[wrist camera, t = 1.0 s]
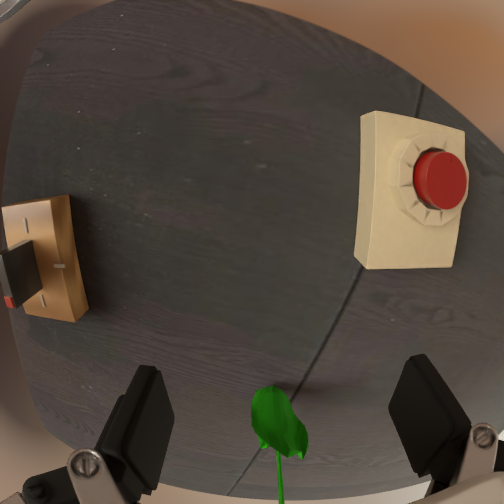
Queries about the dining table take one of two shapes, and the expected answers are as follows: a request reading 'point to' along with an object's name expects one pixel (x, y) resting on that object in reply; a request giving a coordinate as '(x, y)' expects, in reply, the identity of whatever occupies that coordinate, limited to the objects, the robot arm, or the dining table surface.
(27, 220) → the dial panel
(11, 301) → the black block
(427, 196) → the red button
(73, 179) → the dining table surface
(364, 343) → the dining table surface
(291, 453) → the flower
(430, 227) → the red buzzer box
